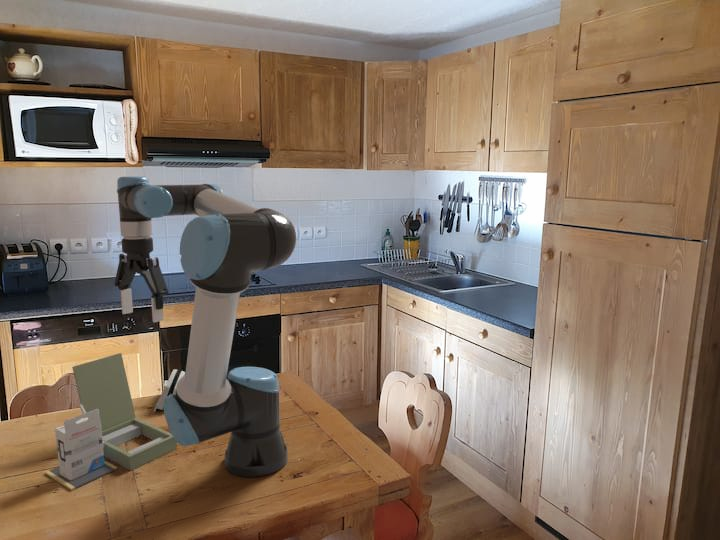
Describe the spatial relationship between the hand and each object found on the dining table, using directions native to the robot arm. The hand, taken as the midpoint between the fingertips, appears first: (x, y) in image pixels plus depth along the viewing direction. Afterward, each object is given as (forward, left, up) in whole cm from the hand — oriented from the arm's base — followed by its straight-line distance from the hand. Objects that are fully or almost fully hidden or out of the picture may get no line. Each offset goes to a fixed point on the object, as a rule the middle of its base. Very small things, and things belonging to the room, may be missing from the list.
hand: (142, 317), depth 146 cm
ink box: (-6, +22, -31) cm, 39 cm away
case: (-3, +9, -32) cm, 33 cm away
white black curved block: (+11, -15, -32) cm, 37 cm away
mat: (-6, +22, -32) cm, 39 cm away
